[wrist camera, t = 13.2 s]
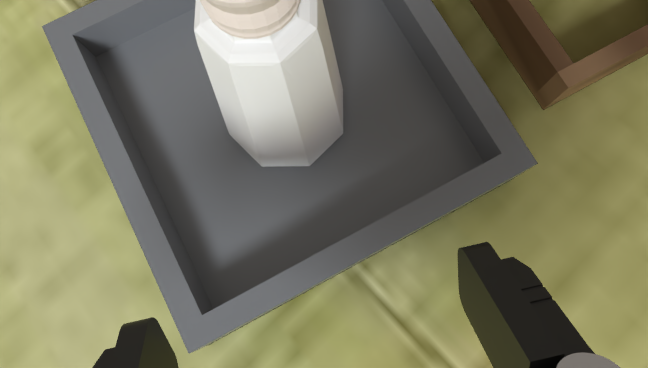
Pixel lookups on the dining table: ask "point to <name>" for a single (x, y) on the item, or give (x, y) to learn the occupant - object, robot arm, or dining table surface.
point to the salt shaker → (273, 76)
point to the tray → (279, 181)
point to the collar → (552, 51)
